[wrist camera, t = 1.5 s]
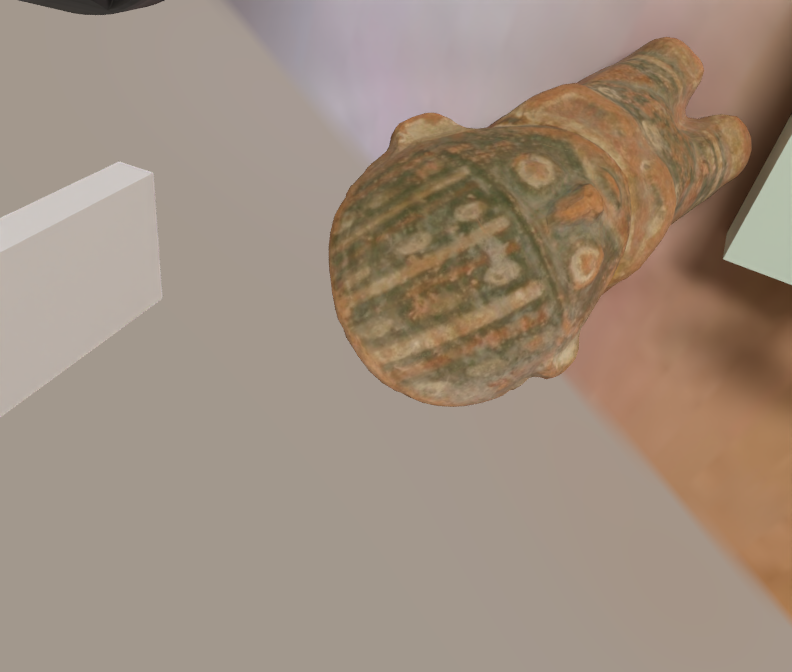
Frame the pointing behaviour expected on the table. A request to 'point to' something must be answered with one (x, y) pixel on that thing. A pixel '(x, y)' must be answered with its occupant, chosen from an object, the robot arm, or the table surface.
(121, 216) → the robot arm
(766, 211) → the pale green u-shaped slab
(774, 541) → the table surface
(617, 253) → the figurine
